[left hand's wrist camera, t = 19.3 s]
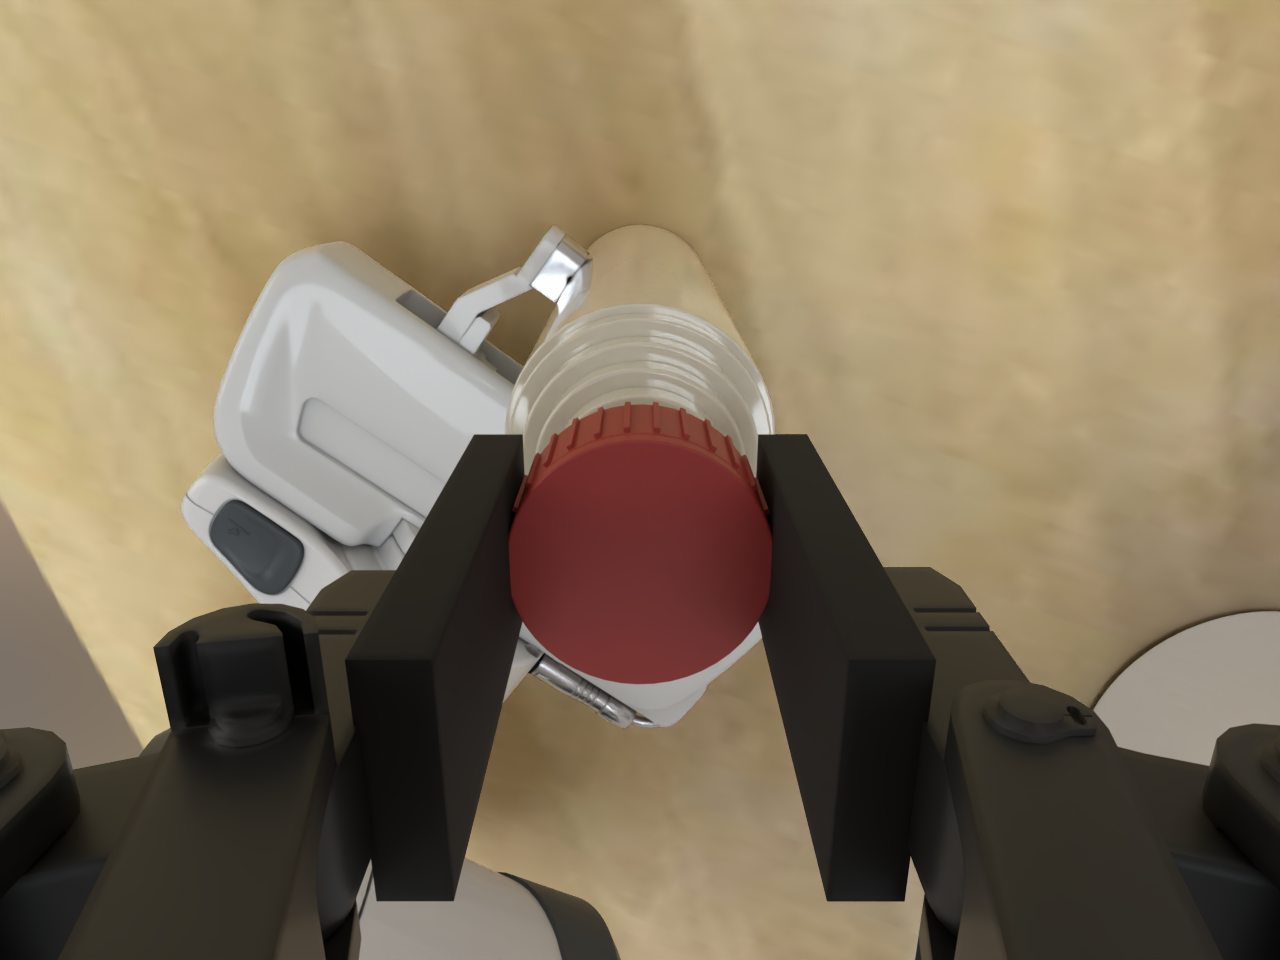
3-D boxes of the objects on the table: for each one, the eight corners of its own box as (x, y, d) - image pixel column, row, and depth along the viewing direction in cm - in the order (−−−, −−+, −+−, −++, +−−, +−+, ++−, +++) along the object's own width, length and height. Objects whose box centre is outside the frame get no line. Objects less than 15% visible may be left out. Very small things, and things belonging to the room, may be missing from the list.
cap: (715, 362, 13) (726, 394, 12) (795, 580, 15) (815, 639, 13) (477, 451, 14) (454, 494, 12) (574, 656, 15) (566, 721, 13)
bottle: (543, 311, 35) (383, 586, 13) (624, 195, 34) (595, 287, 12) (654, 390, 37) (677, 765, 14) (736, 280, 35) (904, 512, 13)
